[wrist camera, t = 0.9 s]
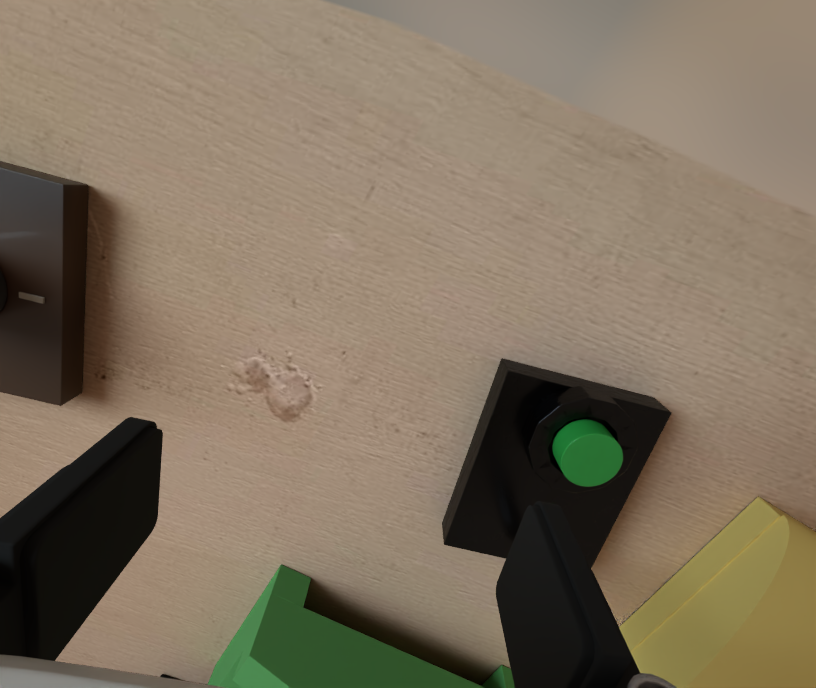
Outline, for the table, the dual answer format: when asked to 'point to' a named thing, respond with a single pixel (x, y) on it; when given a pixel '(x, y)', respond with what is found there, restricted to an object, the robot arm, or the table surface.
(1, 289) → the dimmer knob
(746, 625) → the pop-up book
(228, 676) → the green cradle stand
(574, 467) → the button
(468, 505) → the lamp base
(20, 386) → the dimmer panel
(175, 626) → the table surface
